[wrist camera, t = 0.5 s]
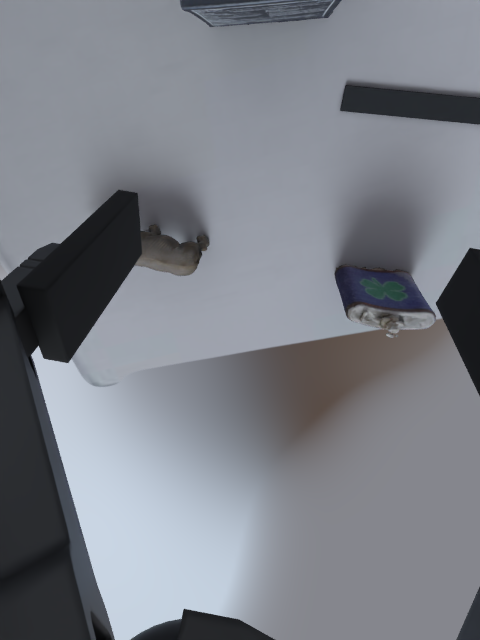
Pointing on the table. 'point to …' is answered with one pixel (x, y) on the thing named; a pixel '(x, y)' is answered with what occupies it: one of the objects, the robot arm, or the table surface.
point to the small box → (257, 10)
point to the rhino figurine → (170, 253)
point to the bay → (411, 104)
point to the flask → (383, 299)
